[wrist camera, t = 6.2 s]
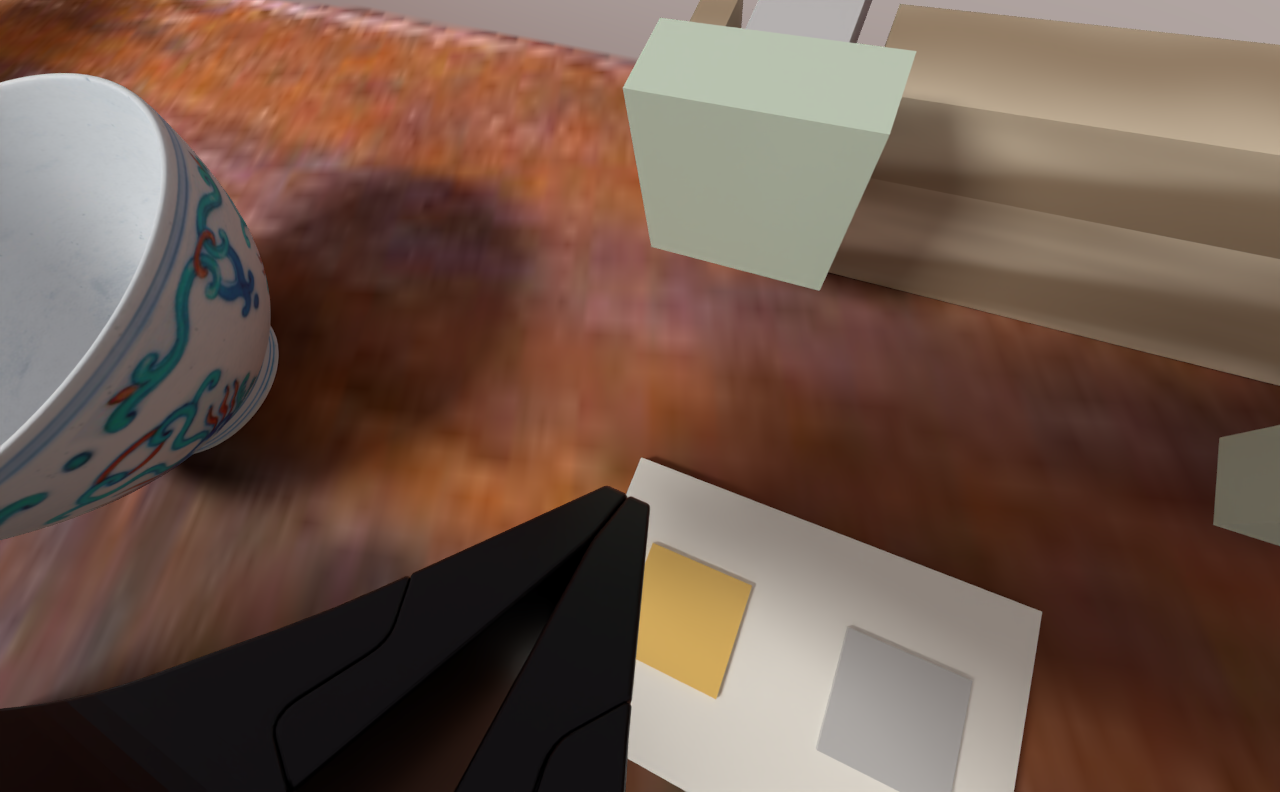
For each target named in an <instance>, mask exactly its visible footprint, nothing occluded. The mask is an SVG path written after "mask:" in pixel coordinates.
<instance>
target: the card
mask: <svg viewBox="0 0 1280 792" xmlns="http://www.w3.org/2000/svg"><path fill="white" fill-rule="evenodd" d="M626 495H627V497H630V496H632V497H634V498H637V499H639V500H641V501H643V502H646V503H648V504H649V505H650V516H649V527H648V537H647V548H646V558H645V569H644V580H643V590H642V601H641V612H640V622H639V633H638V643H637V654H636V665H635V675H634V686H633V696H632V701H631V706H632V710H631V721H630V731H629V742H628V759H629V760H631V761H633V762H635V763H636V764H638V765H640V766H642V767H644V768H645V769H647V770H649V771H651V772H652V773H654V774H656V775H658V776H660V777H661V778H663V779H665V780H667V781H668V782H670V783H672V784H674V785H676V786H677V787H679V788H681V789H683V790H684V791H686V792H1014V787H1015V781H1016V775H1017V768H1018V762H1019V756H1020V750H1021V743H1022V737H1023V731H1024V724H1025V718H1026V712H1027V705H1028V699H1029V693H1030V686H1031V680H1032V674H1033V667H1034V661H1035V655H1036V648H1037V642H1038V636H1039V630H1040V623H1041V617H1042V611H1039V610H1036V609H1034V608H1031V607H1029V606H1026V605H1023V604H1021V603H1018V602H1016V601H1013V600H1010V599H1008V598H1005V597H1003V596H1000V595H997V594H995V593H992V592H990V591H987V590H984V589H982V588H979V587H977V586H974V585H971V584H969V583H966V582H964V581H961V580H959V579H956V578H953V577H951V576H948V575H946V574H943V573H940V572H938V571H935V570H933V569H930V568H927V567H925V566H922V565H920V564H917V563H914V562H912V561H909V560H907V559H904V558H901V557H899V556H896V555H894V554H891V553H888V552H886V551H883V550H881V549H878V548H875V547H873V546H870V545H868V544H865V543H862V542H860V541H857V540H855V539H852V538H849V537H847V536H844V535H842V534H839V533H837V532H834V531H831V530H829V529H826V528H824V527H821V526H818V525H816V524H813V523H811V522H808V521H805V520H803V519H800V518H798V517H795V516H792V515H790V514H787V513H785V512H782V511H779V510H777V509H774V508H772V507H769V506H766V505H764V504H761V503H759V502H756V501H753V500H751V499H748V498H746V497H743V496H740V495H738V494H735V493H733V492H730V491H727V490H725V489H722V488H720V487H717V486H715V485H712V484H709V483H707V482H704V481H702V480H699V479H696V478H694V477H691V476H689V475H686V474H683V473H681V472H678V471H676V470H673V469H670V468H668V467H665V466H663V465H660V464H657V463H655V462H652V461H650V460H647V459H644V458H642V457H641V459H640V462H639V464H638V467H637V469H636V472H635V474H634V477H633V479H632V481H631V484H630V486H629V489H628V491H627V494H626Z"/></svg>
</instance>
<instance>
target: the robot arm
mask: <svg viewBox="0 0 1280 792" xmlns="http://www.w3.org/2000/svg"><path fill="white" fill-rule="evenodd" d="M649 516H650V505H649V504H648V503H646V502H643V501H641V500H639V499H637V498H634V497H632V496H630V497H627V495H626V494H625V493H623V492H621V491H619V490H617V489H614V488H612V487H610V486H604V487H601V488H599V489H597V490H595V491H593V492H590V493H588V494H586V495H584V496H582V497H579V498H577V499H575V500H573V501H571V502H568V503H566V504H564V505H562V506H560V507H558V508H555V509H553V510H551V511H549V512H547V513H544V514H542V515H540V516H538V517H536V518H533V519H531V520H529V521H527V522H525V523H522V524H520V525H518V526H516V527H514V528H511V529H509V530H507V531H505V532H503V533H500V534H498V535H496V536H494V537H492V538H489V539H487V540H485V541H483V542H481V543H478V544H476V545H474V546H472V547H470V548H467V549H465V550H463V551H461V552H459V553H456V554H454V555H452V556H450V557H448V558H445V559H443V560H441V561H439V562H437V563H434V564H432V565H430V566H428V567H426V568H423V569H421V570H419V571H417V572H415V573H413V574H412V575H411V578H410V577H408V576H406V577H403V578H401V579H399V580H397V581H394V582H392V583H390V584H388V585H386V586H383V587H381V588H379V589H377V590H374V591H372V592H370V593H367V594H365V595H363V596H360V597H358V598H356V599H353V600H351V601H349V602H346V603H344V604H342V605H339V606H337V607H335V608H332V609H330V610H327V611H324V612H322V613H319V614H317V615H314V616H311V617H309V618H306V619H303V620H301V621H298V622H296V623H293V624H290V625H288V626H285V627H283V628H280V629H277V630H274V631H272V632H269V633H266V634H263V635H261V636H258V637H255V638H252V639H250V640H247V641H244V642H241V643H239V644H236V645H233V646H230V647H228V648H225V649H222V650H219V651H217V652H214V653H211V654H208V655H206V656H203V657H200V658H197V659H194V660H192V661H189V662H186V663H183V664H181V665H178V666H175V667H172V668H170V669H167V670H164V671H161V672H159V673H156V674H153V675H150V676H148V677H145V678H142V679H139V680H136V681H133V682H130V683H127V684H124V685H121V686H117V687H113V688H110V689H106V690H103V691H99V692H96V693H92V694H87V695H83V696H79V697H74V698H70V699H65V700H60V701H54V702H49V703H43V704H38V705H30V706H21V707H13V708H3V709H0V792H625V789H626V774H627V758H628V742H629V731H630V721H631V710H632V706H631V701H632V696H633V686H634V675H635V665H636V654H637V643H638V633H639V622H640V612H641V601H642V590H643V580H644V569H645V558H646V548H647V537H648V527H649Z"/></svg>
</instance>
